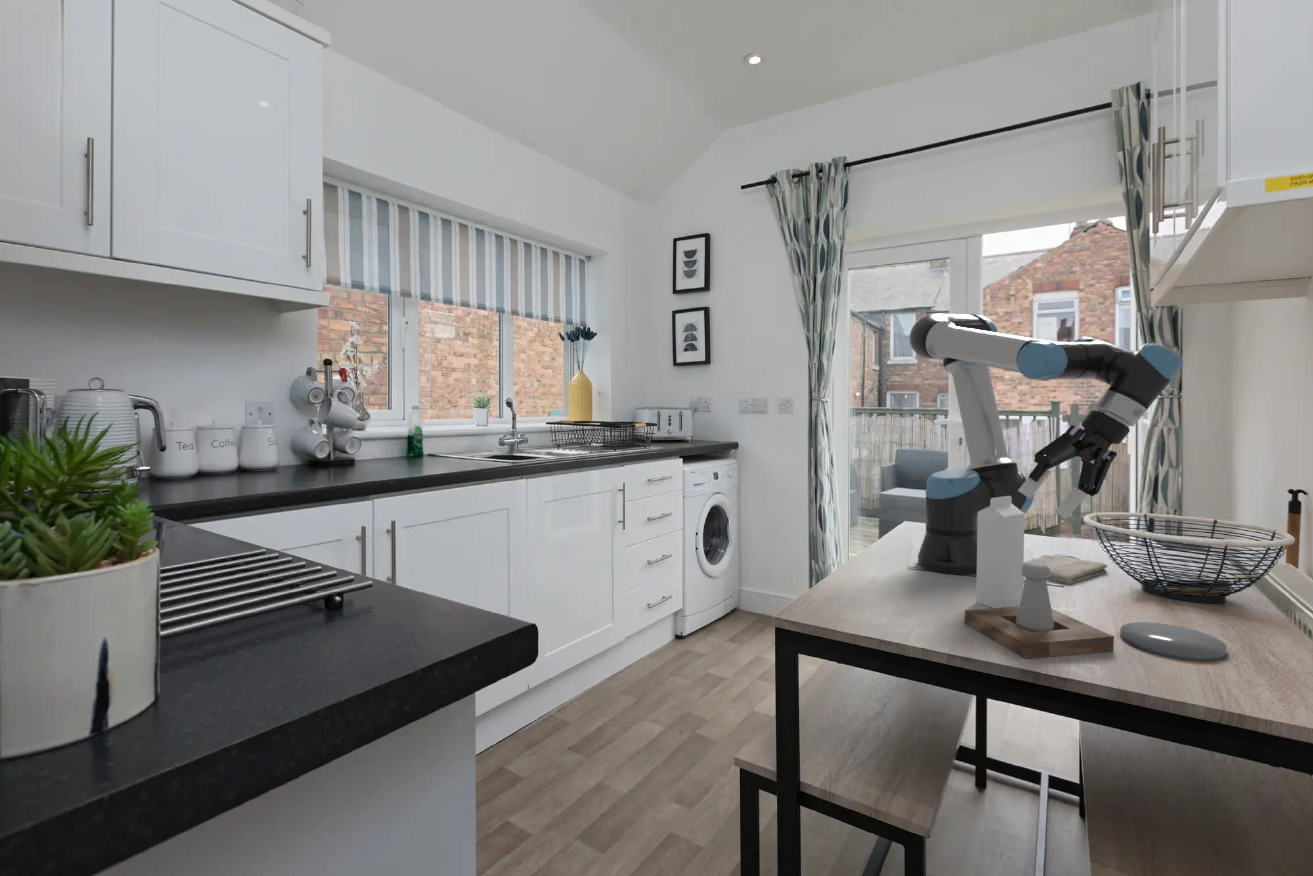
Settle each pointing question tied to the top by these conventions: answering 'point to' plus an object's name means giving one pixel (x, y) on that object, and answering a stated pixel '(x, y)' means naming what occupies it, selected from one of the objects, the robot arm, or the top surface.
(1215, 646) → the coaster
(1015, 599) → the milk
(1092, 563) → the washcloth
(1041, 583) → the salt shaker
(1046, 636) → the socket block
